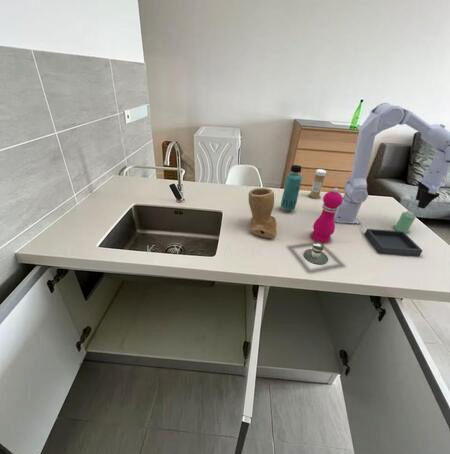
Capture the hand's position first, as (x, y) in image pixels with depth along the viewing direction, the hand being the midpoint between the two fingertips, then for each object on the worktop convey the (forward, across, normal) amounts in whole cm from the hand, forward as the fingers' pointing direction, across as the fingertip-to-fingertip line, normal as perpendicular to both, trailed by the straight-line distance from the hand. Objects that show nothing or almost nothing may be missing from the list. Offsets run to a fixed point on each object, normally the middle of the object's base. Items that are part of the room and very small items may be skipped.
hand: (419, 203), depth 95 cm
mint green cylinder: (+10, -6, +3) cm, 12 cm away
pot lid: (+10, -42, +29) cm, 52 cm away
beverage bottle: (+10, -16, +47) cm, 50 cm away
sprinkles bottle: (+10, +5, +39) cm, 41 cm away
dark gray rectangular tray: (+10, -20, +7) cm, 23 cm away
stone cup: (+10, -36, +51) cm, 64 cm away
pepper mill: (+10, -30, +30) cm, 44 cm away
